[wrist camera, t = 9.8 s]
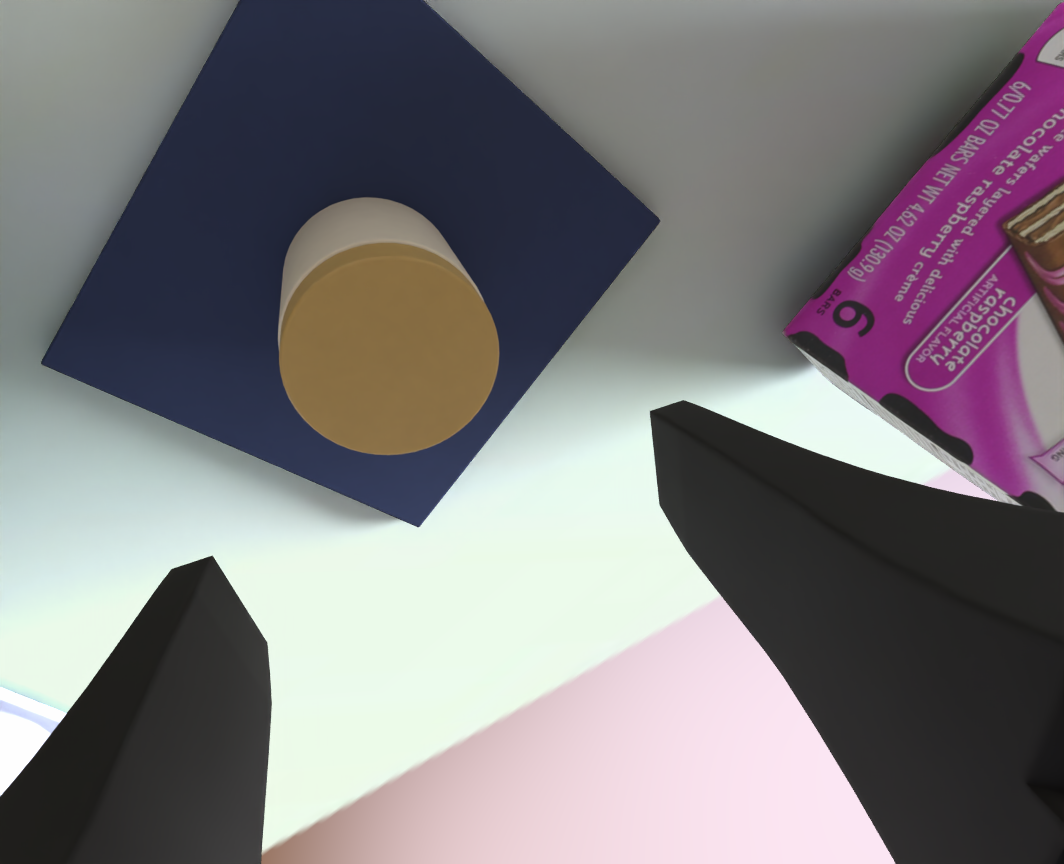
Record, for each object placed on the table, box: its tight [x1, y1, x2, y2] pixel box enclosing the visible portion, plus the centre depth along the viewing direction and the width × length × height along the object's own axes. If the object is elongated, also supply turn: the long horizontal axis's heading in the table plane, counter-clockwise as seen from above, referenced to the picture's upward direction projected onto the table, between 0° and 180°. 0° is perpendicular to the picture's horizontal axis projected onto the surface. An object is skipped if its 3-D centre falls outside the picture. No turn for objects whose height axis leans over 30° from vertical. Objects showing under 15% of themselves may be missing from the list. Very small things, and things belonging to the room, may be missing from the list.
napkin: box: [41, 0, 660, 527], centre depth 18 cm, size 12×11×1 cm
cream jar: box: [278, 197, 499, 455], centre depth 15 cm, size 4×4×5 cm
